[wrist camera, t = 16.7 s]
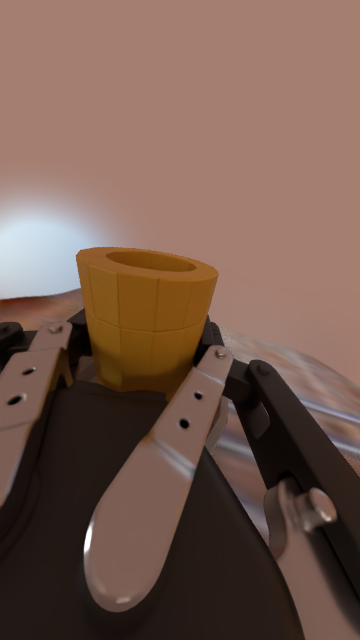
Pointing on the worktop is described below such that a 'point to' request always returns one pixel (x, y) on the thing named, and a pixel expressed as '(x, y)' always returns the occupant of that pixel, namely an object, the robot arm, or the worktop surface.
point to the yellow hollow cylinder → (144, 315)
